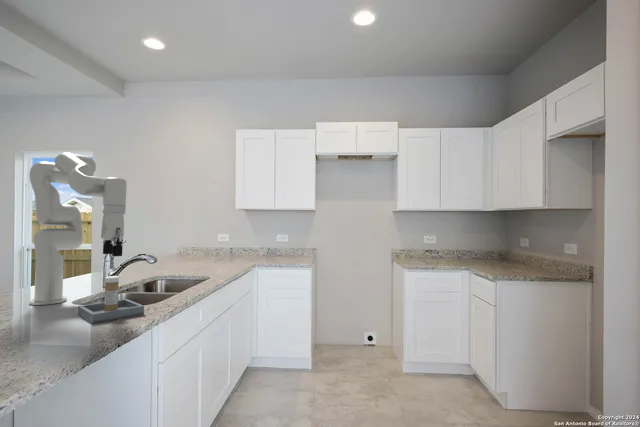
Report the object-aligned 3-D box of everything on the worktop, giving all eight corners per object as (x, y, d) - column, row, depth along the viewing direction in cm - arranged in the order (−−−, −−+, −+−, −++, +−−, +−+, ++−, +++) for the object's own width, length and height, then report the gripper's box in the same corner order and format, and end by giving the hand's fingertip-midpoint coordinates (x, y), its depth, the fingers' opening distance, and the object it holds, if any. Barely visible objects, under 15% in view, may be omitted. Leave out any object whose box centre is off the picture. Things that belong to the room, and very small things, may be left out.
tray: (77, 314, 129) (77, 306, 129) (126, 306, 142) (126, 298, 142) (92, 323, 118) (92, 314, 118) (143, 314, 131) (144, 305, 131)
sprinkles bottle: (107, 310, 132) (109, 275, 132) (120, 310, 132) (121, 275, 133) (101, 314, 127) (102, 277, 128) (114, 313, 128) (115, 277, 128)
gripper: (95, 209, 134) (93, 253, 133) (111, 209, 123) (109, 257, 122) (116, 210, 139) (114, 252, 139) (133, 210, 128) (132, 256, 128)
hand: (112, 255), depth 131 cm, fingers open, 9 cm apart
